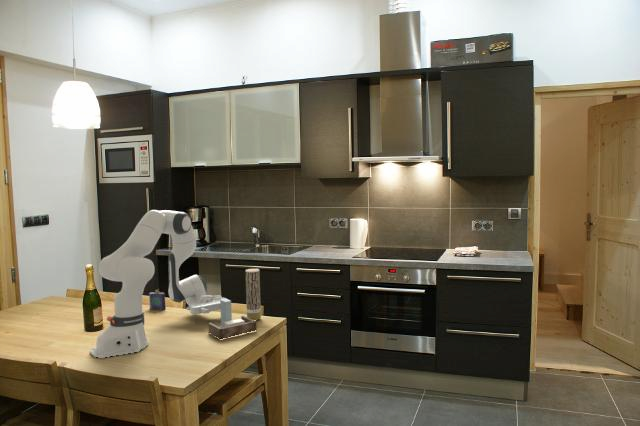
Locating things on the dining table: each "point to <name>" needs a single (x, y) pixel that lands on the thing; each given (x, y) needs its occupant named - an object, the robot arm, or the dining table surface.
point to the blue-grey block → (225, 311)
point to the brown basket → (233, 328)
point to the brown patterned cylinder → (253, 294)
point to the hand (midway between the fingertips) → (217, 309)
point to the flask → (157, 301)
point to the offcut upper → (233, 322)
